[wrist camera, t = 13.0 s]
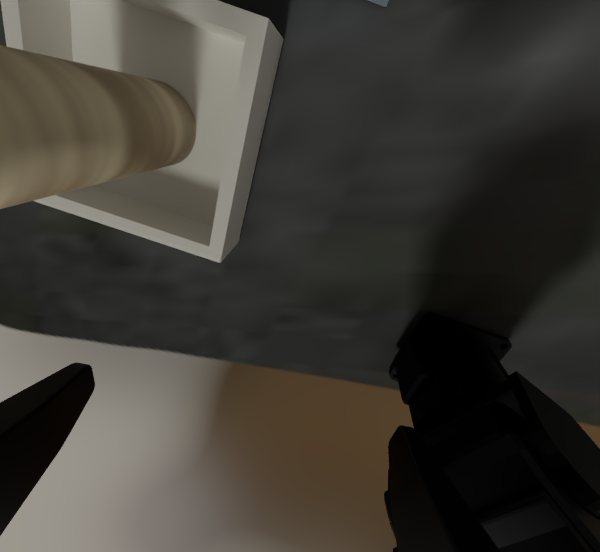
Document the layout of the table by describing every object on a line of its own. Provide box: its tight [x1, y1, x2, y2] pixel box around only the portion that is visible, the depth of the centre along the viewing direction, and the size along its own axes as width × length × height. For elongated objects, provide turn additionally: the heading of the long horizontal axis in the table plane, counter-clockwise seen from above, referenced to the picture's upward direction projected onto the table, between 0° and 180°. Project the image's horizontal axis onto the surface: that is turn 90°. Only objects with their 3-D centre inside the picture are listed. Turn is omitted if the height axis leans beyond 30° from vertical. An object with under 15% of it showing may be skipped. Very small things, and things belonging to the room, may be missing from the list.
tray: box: [1, 0, 284, 263], centre depth 16 cm, size 12×12×4 cm
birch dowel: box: [0, 45, 196, 209], centre depth 12 cm, size 4×4×13 cm
